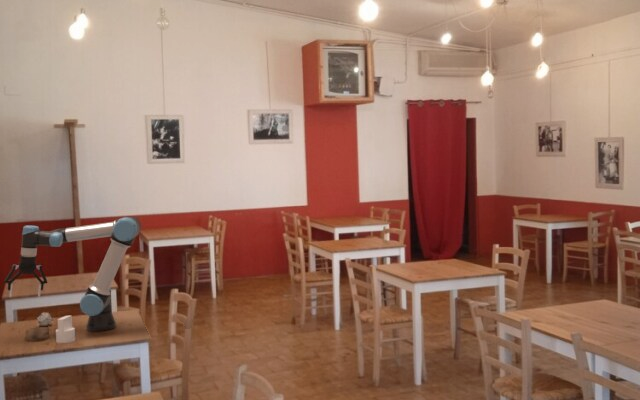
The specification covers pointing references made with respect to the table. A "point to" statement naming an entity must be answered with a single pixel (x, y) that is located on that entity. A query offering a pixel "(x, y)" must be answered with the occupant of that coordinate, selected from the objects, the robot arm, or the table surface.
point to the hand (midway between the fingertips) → (24, 296)
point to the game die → (44, 319)
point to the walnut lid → (37, 334)
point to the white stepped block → (65, 330)
